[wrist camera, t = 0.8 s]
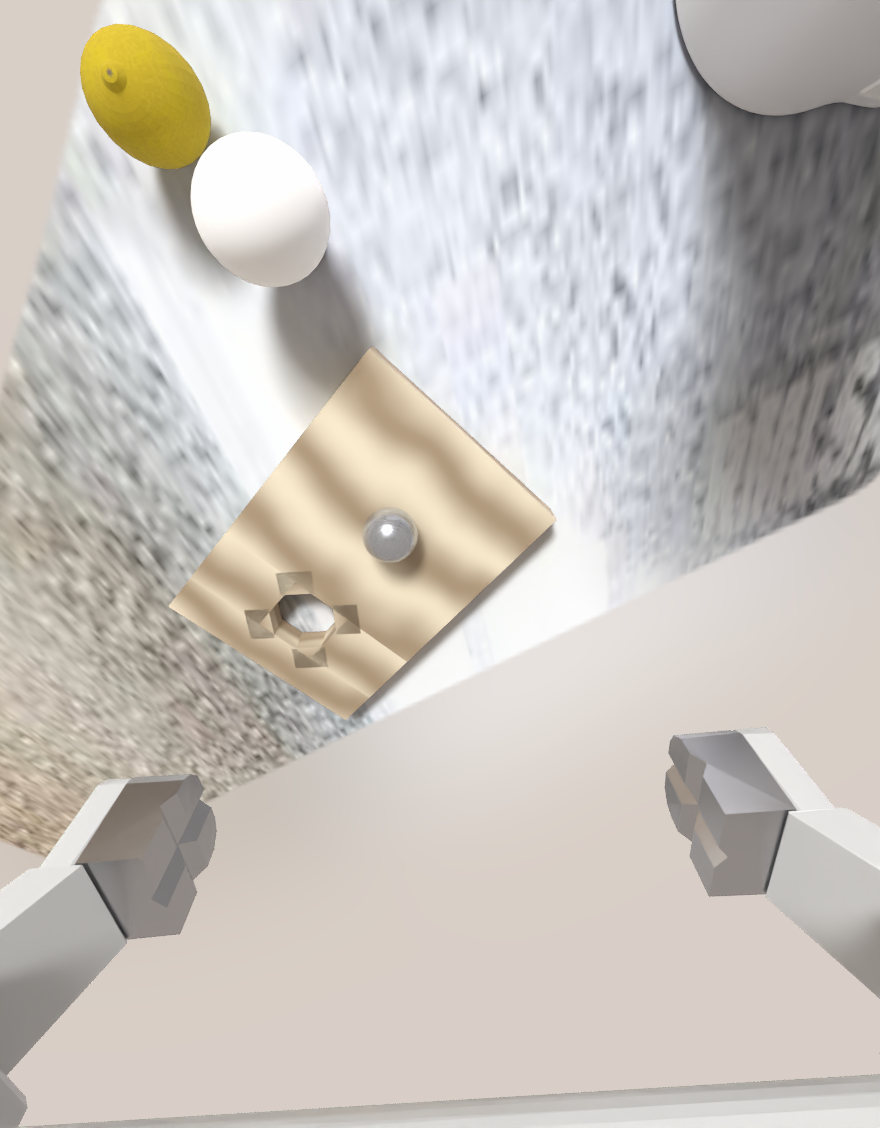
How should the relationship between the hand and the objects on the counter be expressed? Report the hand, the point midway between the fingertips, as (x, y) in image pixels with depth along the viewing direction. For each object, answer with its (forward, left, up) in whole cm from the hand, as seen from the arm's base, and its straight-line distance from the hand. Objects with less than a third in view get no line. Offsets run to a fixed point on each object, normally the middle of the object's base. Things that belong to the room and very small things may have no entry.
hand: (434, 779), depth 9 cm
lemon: (-3, -22, -34) cm, 40 cm away
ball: (+8, +3, -29) cm, 30 cm away
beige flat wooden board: (+12, +3, -33) cm, 36 cm away
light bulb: (-3, -14, -34) cm, 37 cm away
